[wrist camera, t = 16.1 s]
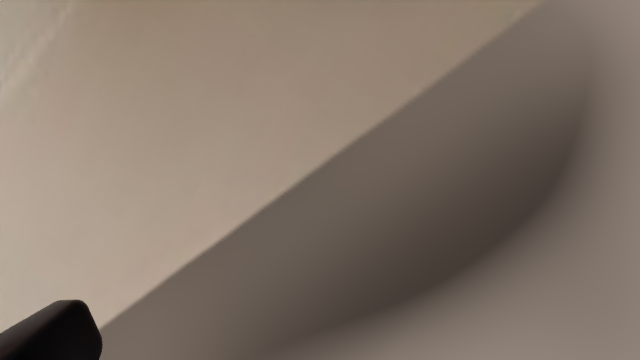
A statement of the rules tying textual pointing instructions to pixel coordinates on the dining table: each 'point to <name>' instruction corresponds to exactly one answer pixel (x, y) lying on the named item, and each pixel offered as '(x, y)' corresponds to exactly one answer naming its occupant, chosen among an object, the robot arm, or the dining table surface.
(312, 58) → the dining table surface
